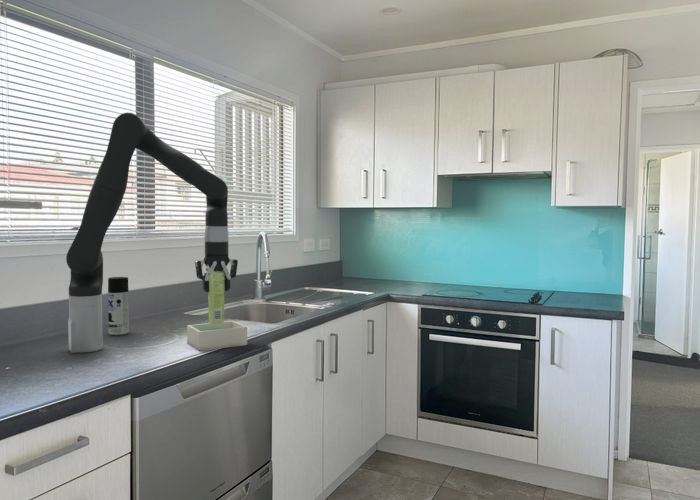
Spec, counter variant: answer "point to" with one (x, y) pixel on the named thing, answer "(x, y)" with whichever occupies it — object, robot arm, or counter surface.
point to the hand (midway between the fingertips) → (216, 291)
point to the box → (216, 335)
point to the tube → (216, 296)
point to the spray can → (118, 306)
